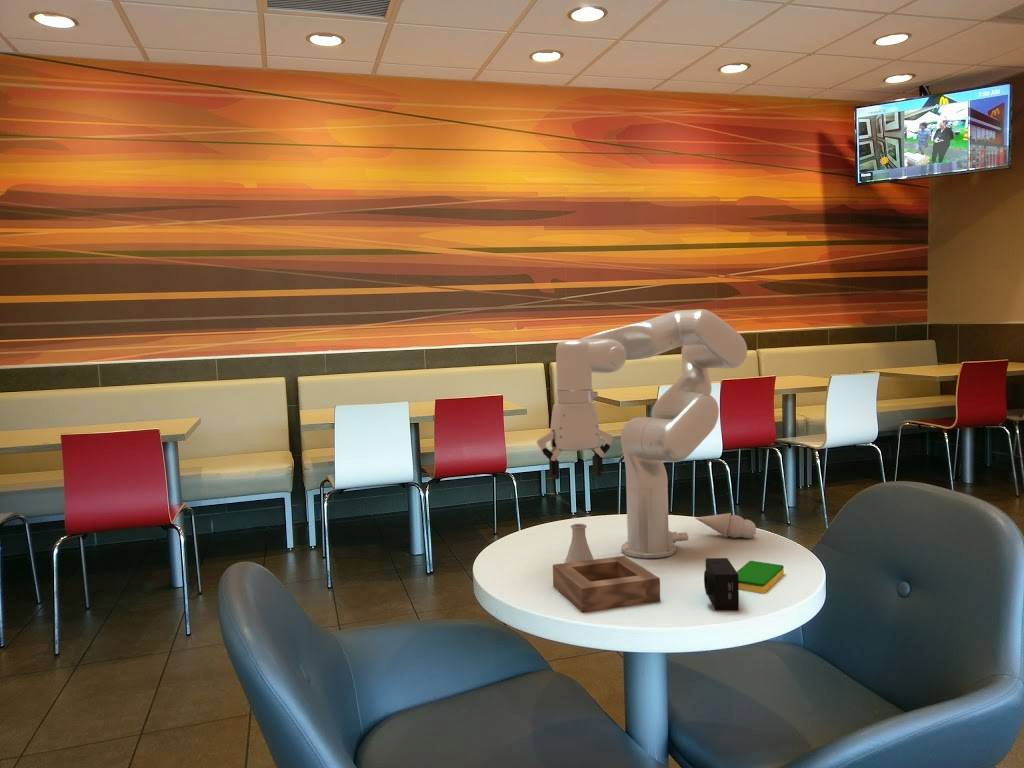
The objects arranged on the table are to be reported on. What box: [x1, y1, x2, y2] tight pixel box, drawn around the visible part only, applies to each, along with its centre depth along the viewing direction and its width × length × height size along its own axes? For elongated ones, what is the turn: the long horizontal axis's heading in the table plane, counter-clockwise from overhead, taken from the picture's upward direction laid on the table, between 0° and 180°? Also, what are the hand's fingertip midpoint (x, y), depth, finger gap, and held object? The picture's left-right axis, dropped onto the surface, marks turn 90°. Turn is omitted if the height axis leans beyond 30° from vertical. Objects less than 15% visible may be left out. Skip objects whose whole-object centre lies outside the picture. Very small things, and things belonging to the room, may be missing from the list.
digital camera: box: [703, 557, 740, 612], centre depth 145 cm, size 10×5×7 cm, turn 175°
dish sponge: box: [736, 560, 785, 594], centre depth 156 cm, size 7×14×2 cm, turn 145°
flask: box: [564, 523, 595, 563], centre depth 167 cm, size 7×7×10 cm
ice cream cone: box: [694, 512, 757, 539], centre depth 189 cm, size 6×6×15 cm
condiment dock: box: [552, 555, 661, 613], centre depth 151 cm, size 16×16×4 cm
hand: (576, 476), depth 165 cm, fingers open, 9 cm apart
